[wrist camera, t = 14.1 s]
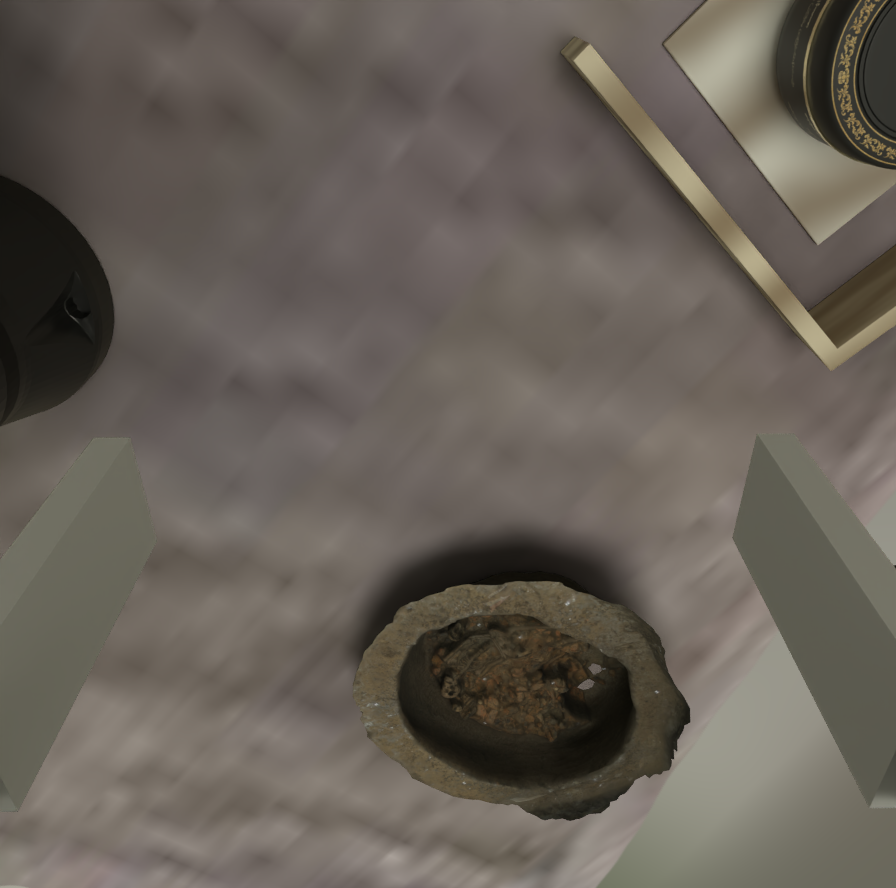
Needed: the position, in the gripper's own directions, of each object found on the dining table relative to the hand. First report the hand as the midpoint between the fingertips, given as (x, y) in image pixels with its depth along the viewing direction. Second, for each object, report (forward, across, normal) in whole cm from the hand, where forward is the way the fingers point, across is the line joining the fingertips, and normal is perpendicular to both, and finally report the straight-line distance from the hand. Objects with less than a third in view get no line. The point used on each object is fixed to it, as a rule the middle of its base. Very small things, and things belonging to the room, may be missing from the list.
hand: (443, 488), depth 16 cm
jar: (+31, +22, +6) cm, 39 cm away
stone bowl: (+32, +5, -38) cm, 50 cm away
